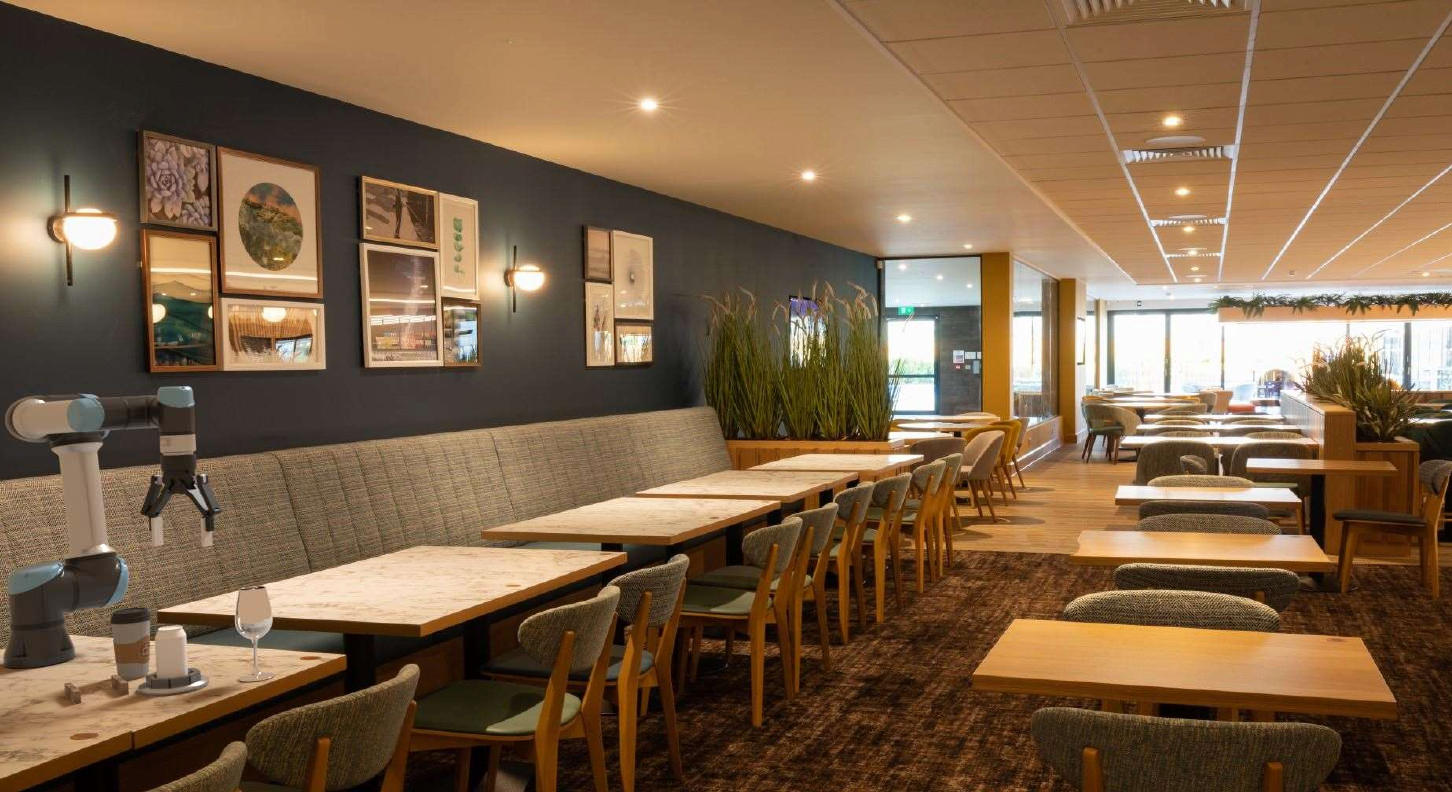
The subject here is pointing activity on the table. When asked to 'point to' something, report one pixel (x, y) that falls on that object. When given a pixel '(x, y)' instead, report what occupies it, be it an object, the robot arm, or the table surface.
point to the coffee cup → (131, 642)
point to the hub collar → (173, 684)
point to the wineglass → (253, 623)
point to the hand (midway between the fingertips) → (182, 545)
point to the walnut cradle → (117, 684)
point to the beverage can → (171, 652)
